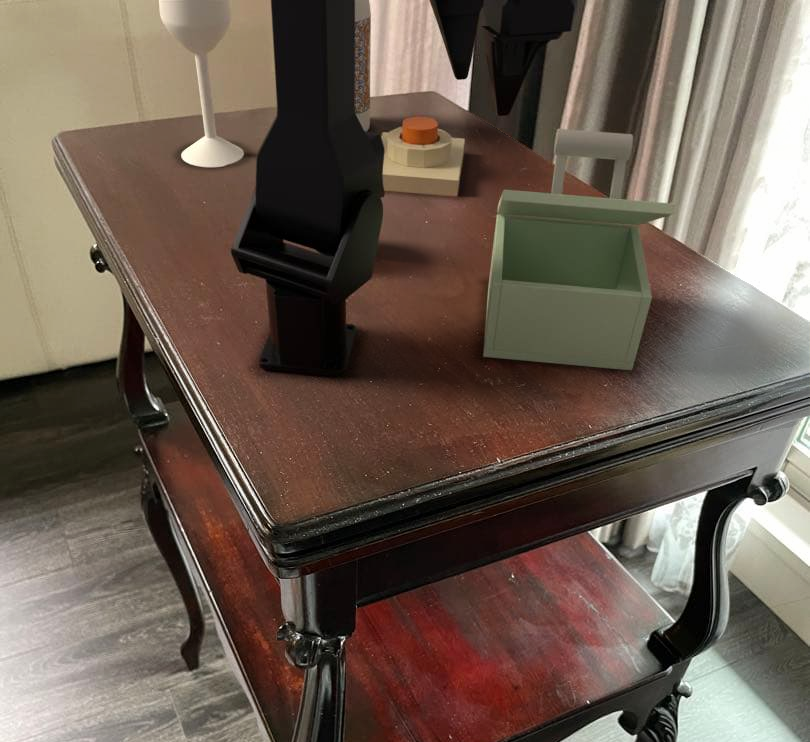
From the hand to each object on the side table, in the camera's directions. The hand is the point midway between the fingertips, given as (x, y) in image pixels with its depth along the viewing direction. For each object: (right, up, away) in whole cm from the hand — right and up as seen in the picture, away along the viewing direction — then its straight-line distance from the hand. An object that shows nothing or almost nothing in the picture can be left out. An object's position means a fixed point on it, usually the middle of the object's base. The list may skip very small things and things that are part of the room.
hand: (481, 96), depth 74 cm
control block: (-5, 0, +15) cm, 16 cm away
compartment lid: (+6, -15, -12) cm, 20 cm away
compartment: (+6, -22, -5) cm, 23 cm away
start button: (-5, +2, +12) cm, 14 cm away
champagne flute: (-27, +2, +16) cm, 32 cm away
